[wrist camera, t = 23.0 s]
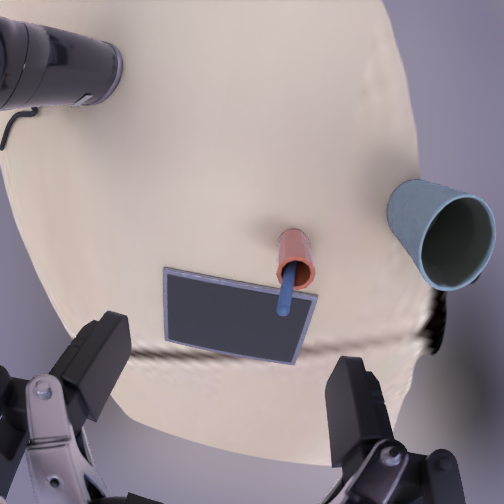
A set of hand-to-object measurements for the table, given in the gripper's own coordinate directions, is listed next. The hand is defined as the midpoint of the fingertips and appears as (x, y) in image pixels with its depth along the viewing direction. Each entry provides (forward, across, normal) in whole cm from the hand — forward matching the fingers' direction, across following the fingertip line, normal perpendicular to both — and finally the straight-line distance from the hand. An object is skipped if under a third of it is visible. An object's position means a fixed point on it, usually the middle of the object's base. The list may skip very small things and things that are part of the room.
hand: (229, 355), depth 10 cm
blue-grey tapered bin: (+27, -20, -2) cm, 33 cm away
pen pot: (+27, -5, +6) cm, 28 cm away
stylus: (+26, -5, +6) cm, 27 cm away
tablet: (+27, +1, +20) cm, 34 cm away
